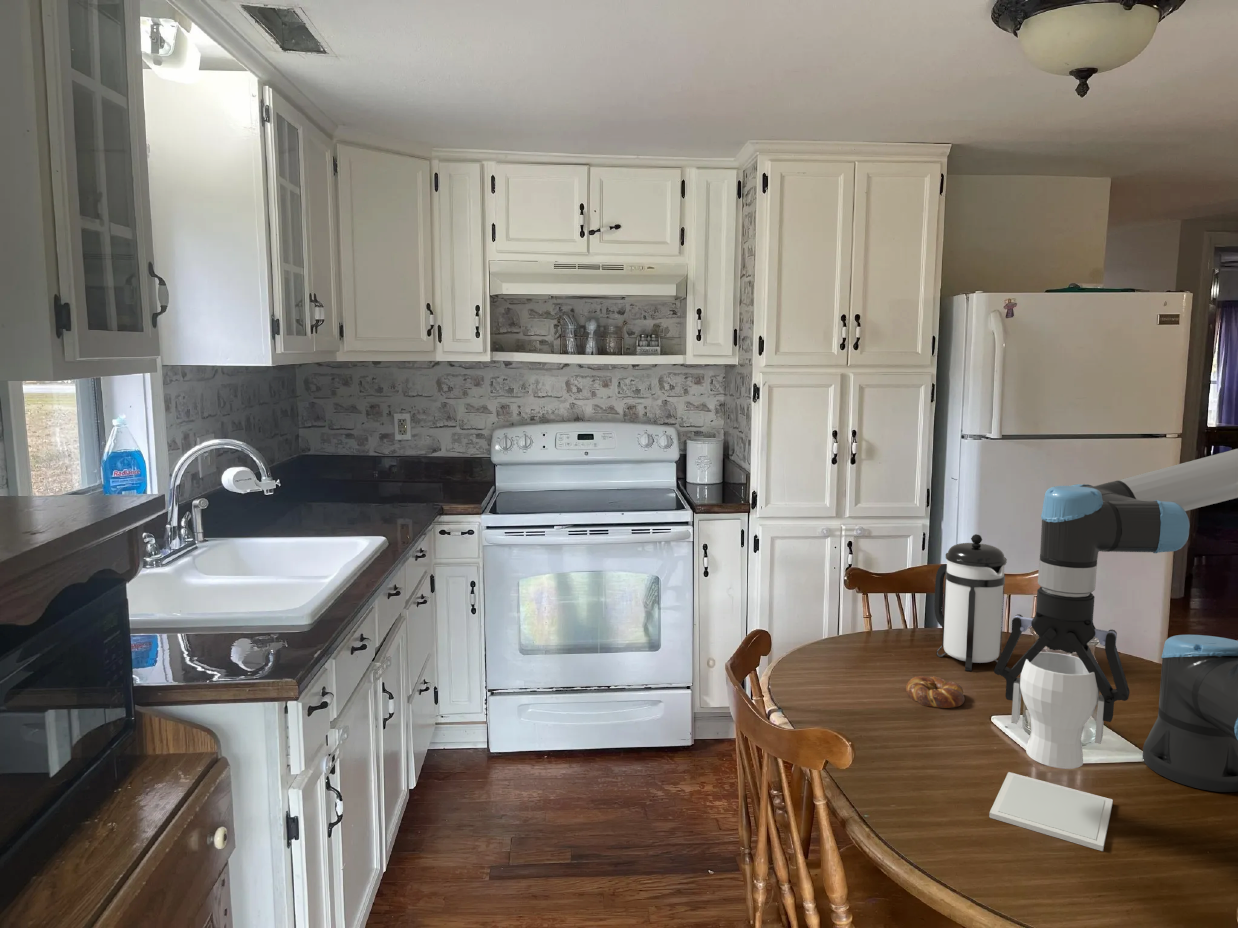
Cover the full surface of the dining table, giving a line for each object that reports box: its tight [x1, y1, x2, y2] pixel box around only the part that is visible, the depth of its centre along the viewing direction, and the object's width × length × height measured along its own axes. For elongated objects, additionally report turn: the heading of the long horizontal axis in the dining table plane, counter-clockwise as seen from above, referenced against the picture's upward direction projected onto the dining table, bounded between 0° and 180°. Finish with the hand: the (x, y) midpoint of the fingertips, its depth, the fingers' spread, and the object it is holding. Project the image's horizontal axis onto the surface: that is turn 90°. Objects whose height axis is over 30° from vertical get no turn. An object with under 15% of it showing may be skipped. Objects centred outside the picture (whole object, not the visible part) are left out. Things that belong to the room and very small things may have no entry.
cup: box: [1019, 651, 1100, 770], centre depth 123 cm, size 11×11×15 cm
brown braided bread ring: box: [905, 675, 965, 709], centre depth 167 cm, size 12×11×4 cm
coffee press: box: [933, 533, 1008, 672], centre depth 186 cm, size 17×16×30 cm
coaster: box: [988, 771, 1113, 852], centre depth 125 cm, size 15×15×1 cm
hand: (1056, 729), depth 123 cm, fingers closed on cup, 11 cm apart
